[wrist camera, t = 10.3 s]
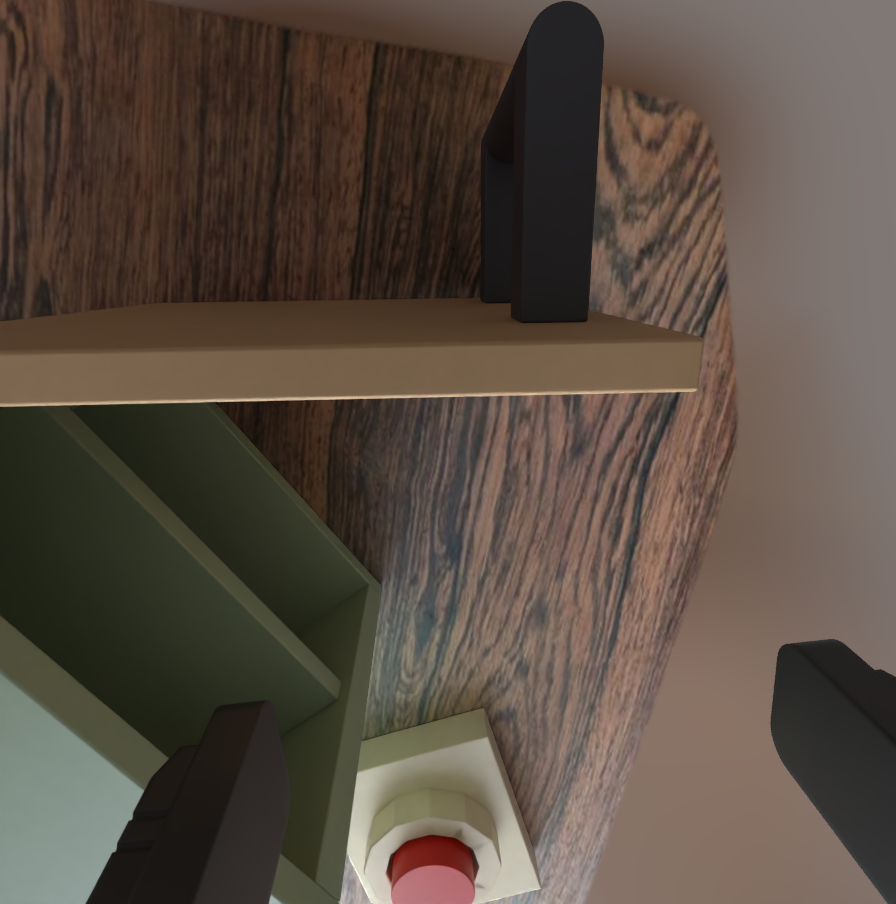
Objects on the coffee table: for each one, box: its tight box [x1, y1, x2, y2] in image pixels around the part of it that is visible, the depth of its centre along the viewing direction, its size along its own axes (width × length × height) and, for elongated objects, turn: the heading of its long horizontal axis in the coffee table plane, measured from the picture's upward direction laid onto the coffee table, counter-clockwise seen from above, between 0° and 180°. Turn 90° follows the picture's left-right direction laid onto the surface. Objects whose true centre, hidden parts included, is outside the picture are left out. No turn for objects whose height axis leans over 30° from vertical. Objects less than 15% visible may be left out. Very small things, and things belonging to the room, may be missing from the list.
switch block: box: [347, 708, 541, 904], centre depth 33 cm, size 10×12×4 cm
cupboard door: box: [0, 1, 704, 407], centre depth 17 cm, size 7×17×17 cm, turn 91°
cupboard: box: [0, 402, 382, 904], centre depth 21 cm, size 13×17×17 cm
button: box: [391, 834, 475, 904], centre depth 31 cm, size 4×4×2 cm
